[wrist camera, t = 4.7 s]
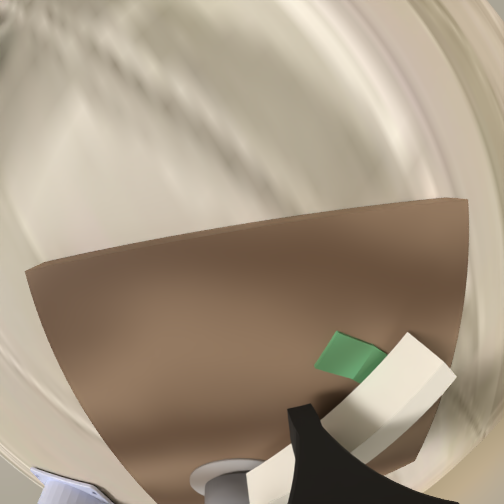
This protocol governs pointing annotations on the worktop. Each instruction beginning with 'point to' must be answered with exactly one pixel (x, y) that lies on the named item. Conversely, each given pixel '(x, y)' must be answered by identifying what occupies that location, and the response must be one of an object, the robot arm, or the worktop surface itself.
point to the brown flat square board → (249, 332)
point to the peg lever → (352, 423)
